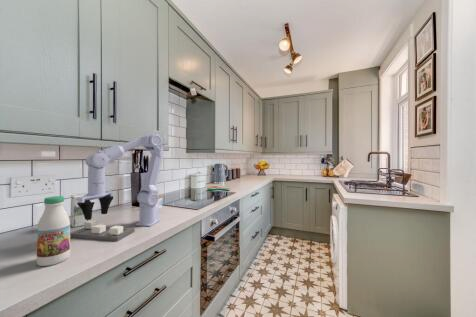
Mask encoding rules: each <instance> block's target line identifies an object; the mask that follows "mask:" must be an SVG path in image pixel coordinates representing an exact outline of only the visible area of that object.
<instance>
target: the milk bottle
mask: <svg viewBox="0 0 476 317" xmlns="http://www.w3.org/2000/svg"><path fill="white" fill-rule="evenodd" d="M43 203H44V206H45V207H44V211H43V213H42V215H41V217H40V218H39V221H38V223H37V225H36V226H37V227H36V228H37V229H36V264H37V266H40V267H47V266H48V267H49V266H53V265H56V264H60V263H63V262H65V261H66V260H68V259H69V258H70V256H71V237H70V233H71V219H70V217H69V215H68V213H67V212H66V210H65V207H64V204H65V196H63V195H53V196H48V197H45V198H44V200H43Z"/></svg>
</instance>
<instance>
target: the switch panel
mask: <svg viewBox="0 0 476 317" xmlns="http://www.w3.org/2000/svg"><path fill="white" fill-rule="evenodd" d="M111 227H112V226H107V225H106V231H104V232H102V233H100V234H98V233H92V229H87V228H84V227H81V228H79V229H78V230H74V231H72V232H70V238H75V239H86V240H87V239H88V240H97V241H99V240H100V241H108V242H119V241H120V240H122V239H124V238H127V237H128V236H129V235H131V234H133V233H135V230H136V229H135V227H123V232H122V233H121V234H119V235H112V234H110V228H111Z"/></svg>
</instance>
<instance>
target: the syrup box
mask: <svg viewBox="0 0 476 317" xmlns="http://www.w3.org/2000/svg"><path fill="white" fill-rule="evenodd" d="M86 194H87V193H80V194H79V193H78V194H71V195H70V227H72V228H73V229H74V228H78V227H84V222H87V221H89V220H85V217H84V214H83V212H82V210H81V208H80V207H79V205H78V197H82V196H84V195H86Z"/></svg>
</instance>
